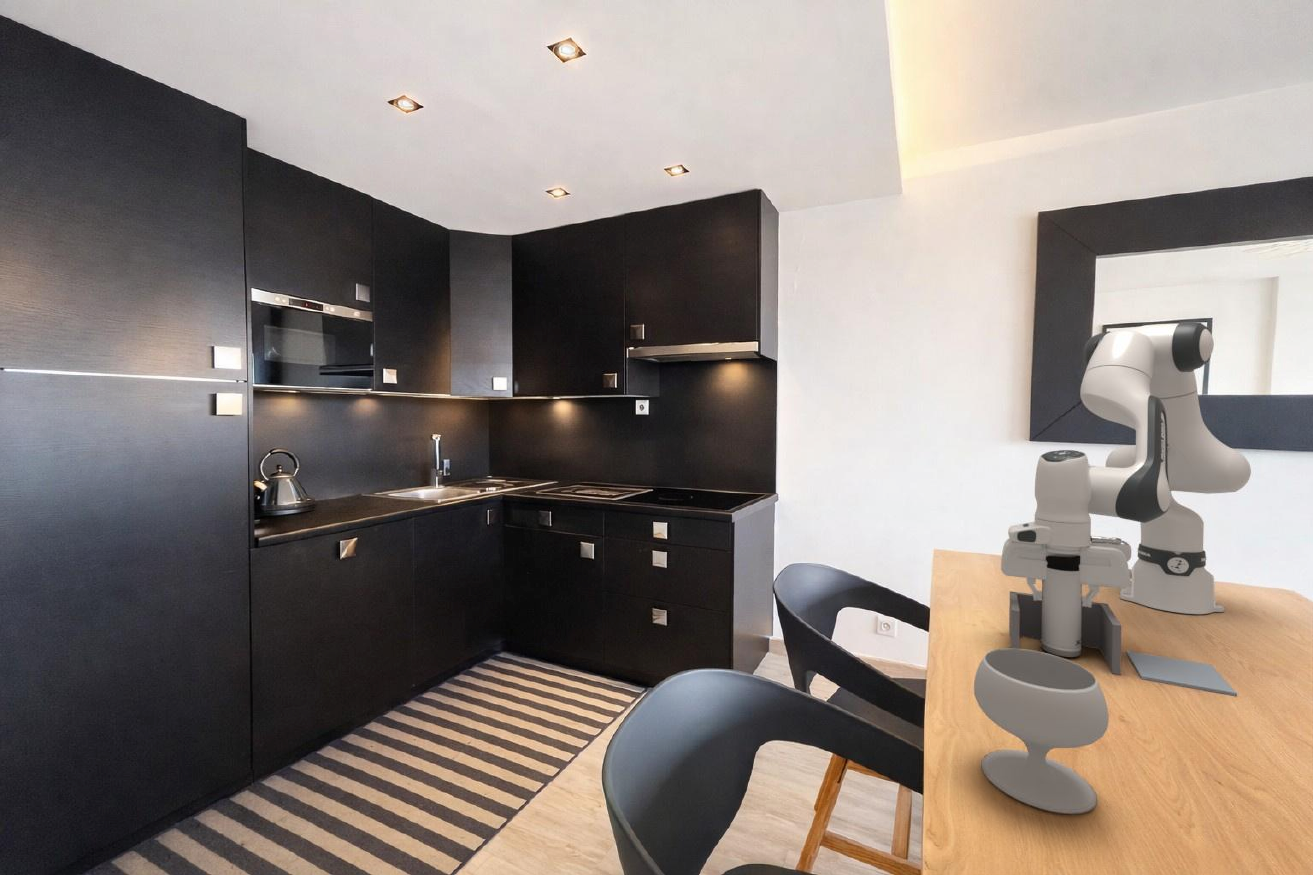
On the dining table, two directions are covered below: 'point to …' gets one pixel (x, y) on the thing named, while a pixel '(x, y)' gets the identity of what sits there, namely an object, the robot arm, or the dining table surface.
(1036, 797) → the chalice
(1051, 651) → the travel mug
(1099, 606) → the grey u-shaped channel
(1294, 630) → the dining table surface
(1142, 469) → the robot arm
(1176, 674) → the mat
